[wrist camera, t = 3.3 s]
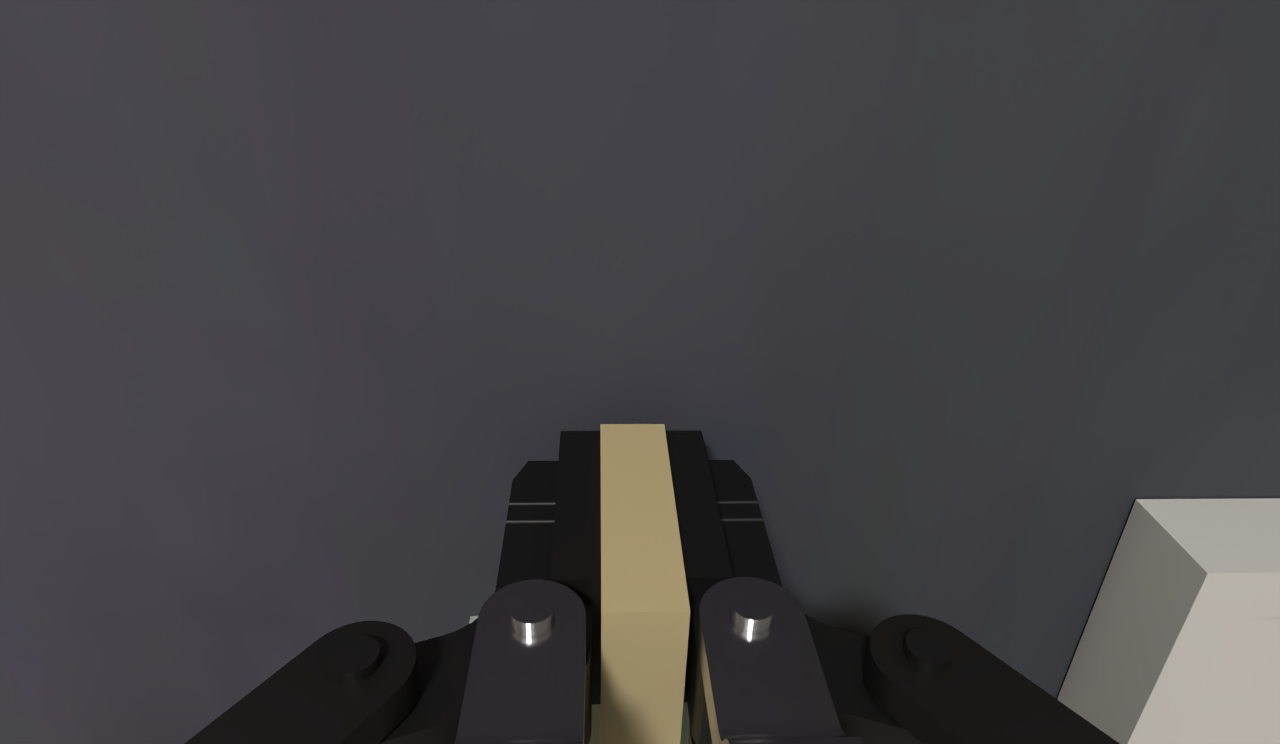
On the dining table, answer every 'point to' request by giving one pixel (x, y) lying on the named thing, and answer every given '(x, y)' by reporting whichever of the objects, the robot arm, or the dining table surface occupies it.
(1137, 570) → the tray
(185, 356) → the dining table surface
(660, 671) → the green block with tab
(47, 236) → the dining table surface
